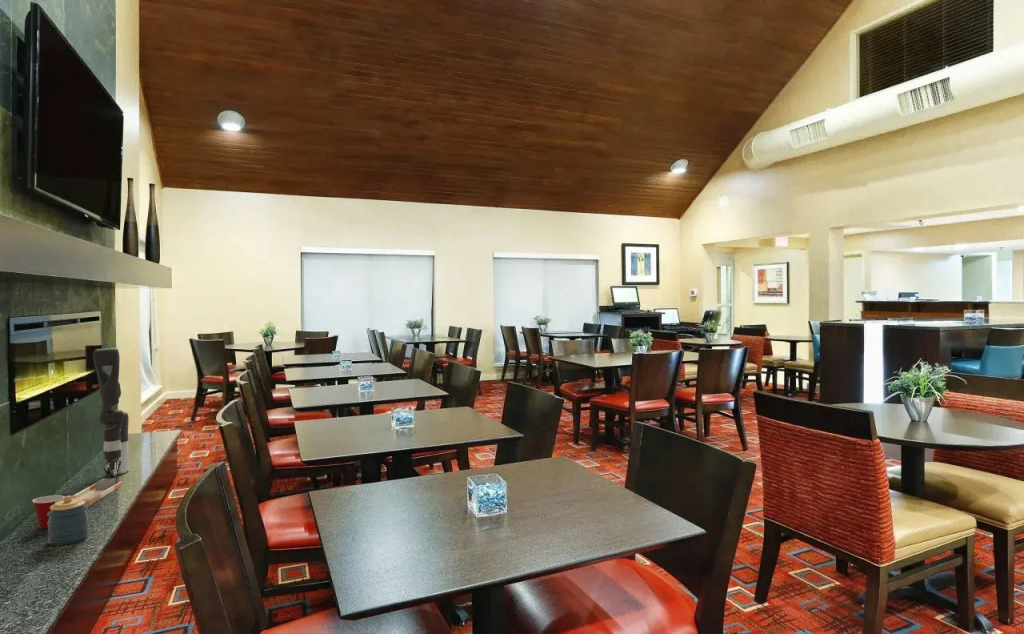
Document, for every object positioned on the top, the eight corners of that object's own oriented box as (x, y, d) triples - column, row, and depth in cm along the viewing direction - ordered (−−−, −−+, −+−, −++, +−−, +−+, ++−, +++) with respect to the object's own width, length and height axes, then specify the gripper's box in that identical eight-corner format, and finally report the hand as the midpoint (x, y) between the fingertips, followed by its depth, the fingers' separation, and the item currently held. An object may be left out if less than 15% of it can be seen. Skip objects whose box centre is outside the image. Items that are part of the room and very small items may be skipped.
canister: (65, 533, 239) (64, 490, 238) (96, 533, 238) (95, 490, 238) (39, 546, 226) (38, 501, 225) (71, 546, 225) (70, 501, 225)
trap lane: (97, 487, 297) (97, 482, 297) (122, 486, 299) (122, 481, 299) (61, 507, 269) (61, 501, 269) (89, 505, 270) (89, 500, 270)
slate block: (102, 486, 297) (102, 478, 297) (115, 485, 298) (115, 478, 298) (95, 490, 291) (95, 482, 291) (108, 489, 292) (108, 481, 292)
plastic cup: (71, 523, 249) (70, 495, 249) (41, 532, 239) (41, 503, 239) (56, 519, 253) (55, 492, 253) (27, 528, 244) (26, 499, 243)
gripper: (111, 446, 307) (112, 478, 307) (97, 452, 294) (97, 486, 294) (126, 445, 308) (127, 478, 308) (113, 451, 295) (114, 485, 295)
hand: (113, 482), depth 301 cm, fingers closed
